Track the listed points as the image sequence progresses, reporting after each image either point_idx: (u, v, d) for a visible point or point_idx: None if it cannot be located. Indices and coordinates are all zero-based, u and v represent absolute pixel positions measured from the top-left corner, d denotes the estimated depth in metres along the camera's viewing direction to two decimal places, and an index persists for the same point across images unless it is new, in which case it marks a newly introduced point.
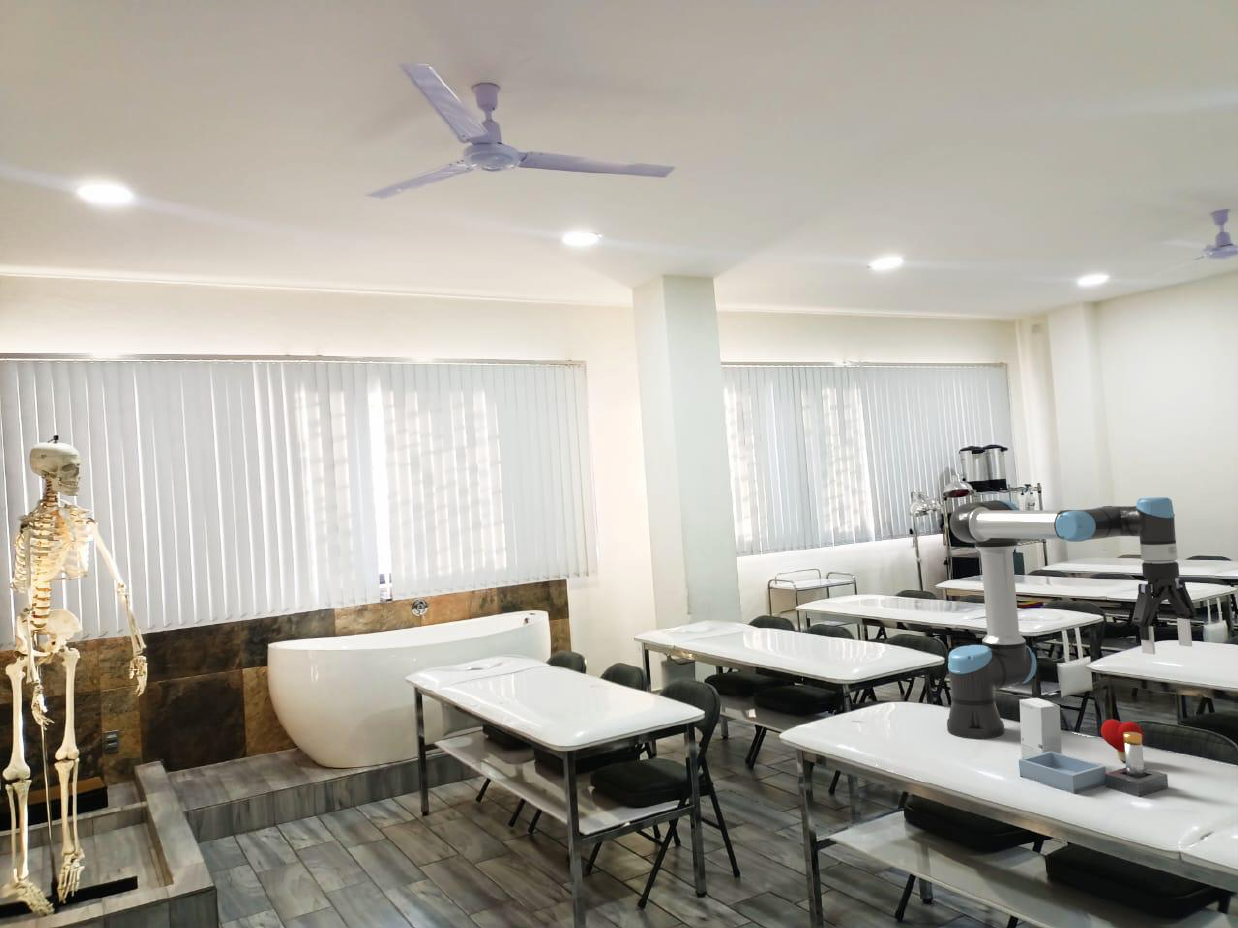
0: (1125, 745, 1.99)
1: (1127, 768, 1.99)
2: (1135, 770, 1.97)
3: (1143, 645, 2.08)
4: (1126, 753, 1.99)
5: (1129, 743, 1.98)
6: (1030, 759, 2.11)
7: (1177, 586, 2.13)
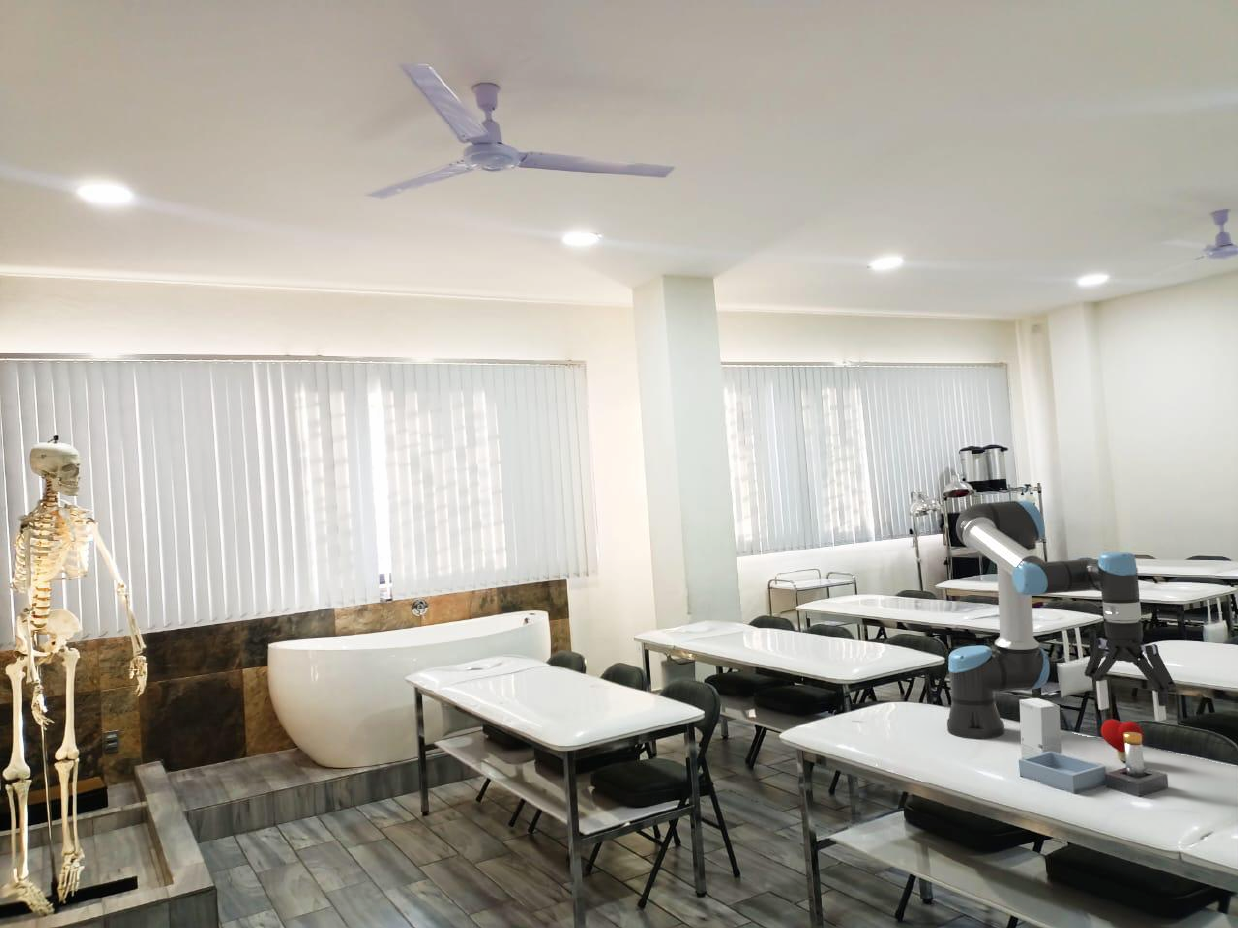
0: (1125, 745, 1.99)
1: (1127, 768, 1.99)
2: (1135, 770, 1.97)
3: None
4: (1126, 753, 1.99)
5: (1129, 743, 1.98)
6: (1030, 759, 2.11)
7: None
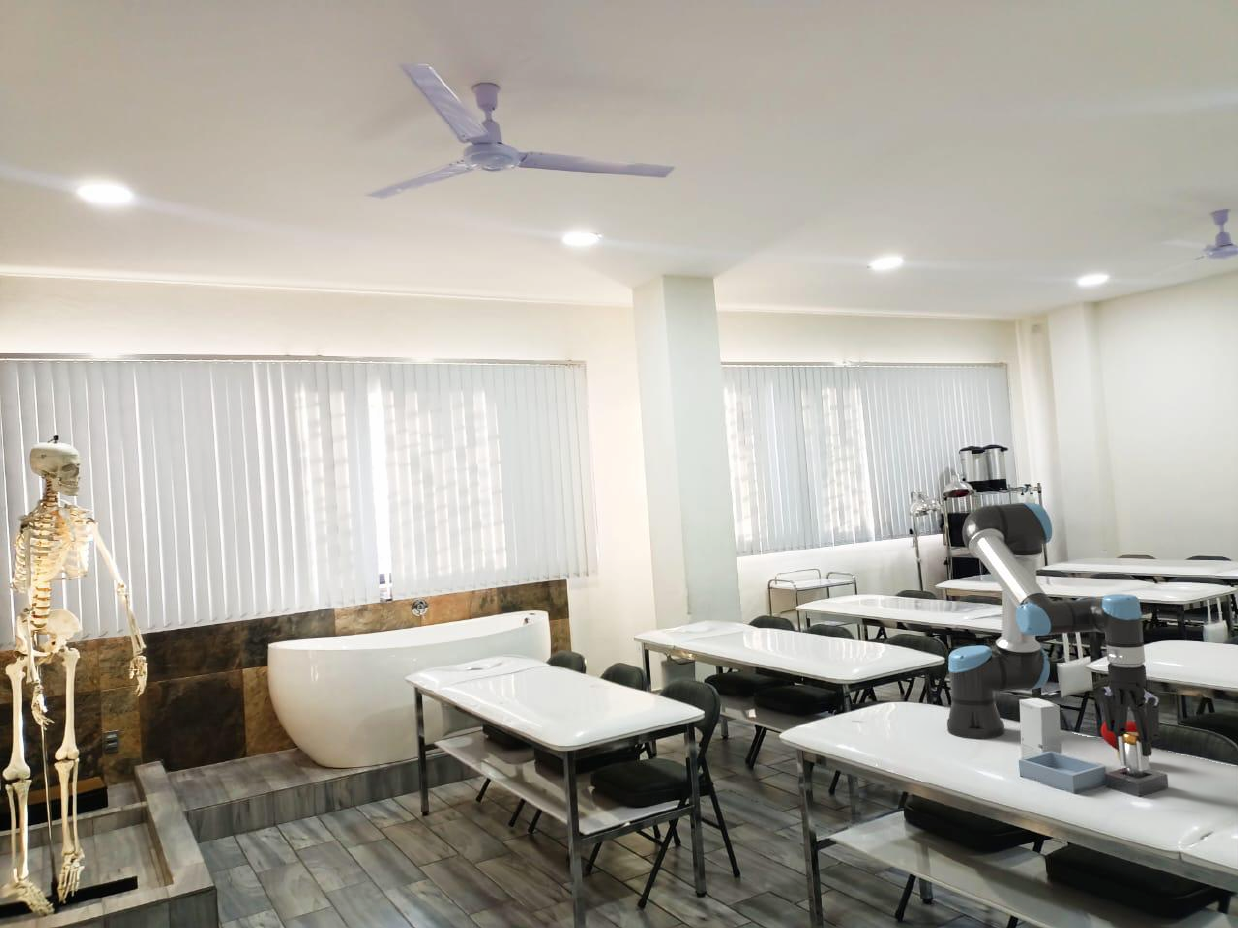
0: (1125, 745, 1.99)
1: (1127, 768, 1.99)
2: (1135, 770, 1.97)
3: None
4: (1126, 753, 1.99)
5: (1129, 743, 1.98)
6: (1030, 759, 2.11)
7: (1146, 700, 1.95)
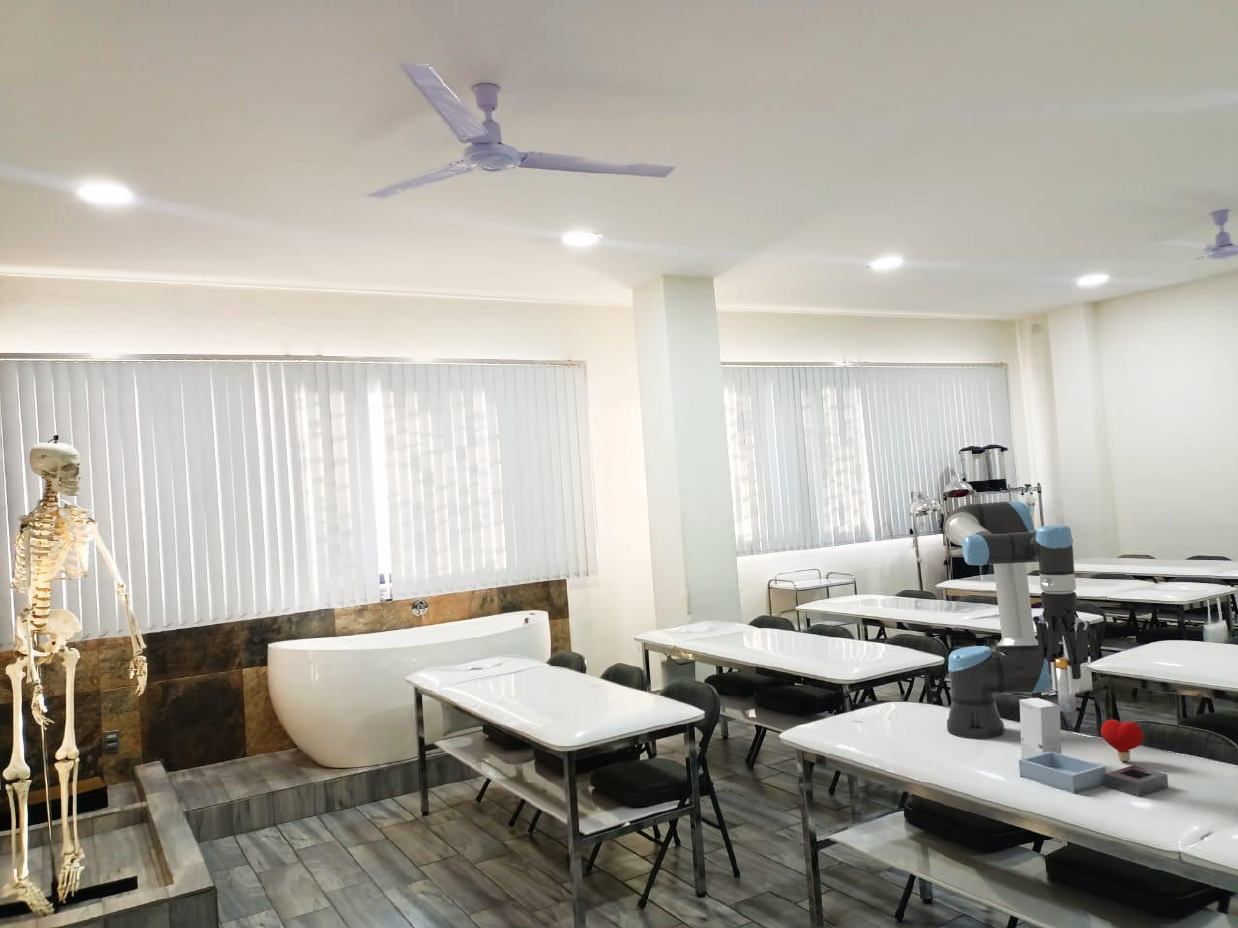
0: (1057, 670, 2.06)
1: (1058, 692, 2.06)
2: (1066, 693, 2.04)
3: None
4: (1057, 677, 2.06)
5: (1060, 667, 2.05)
6: (1030, 759, 2.11)
7: None
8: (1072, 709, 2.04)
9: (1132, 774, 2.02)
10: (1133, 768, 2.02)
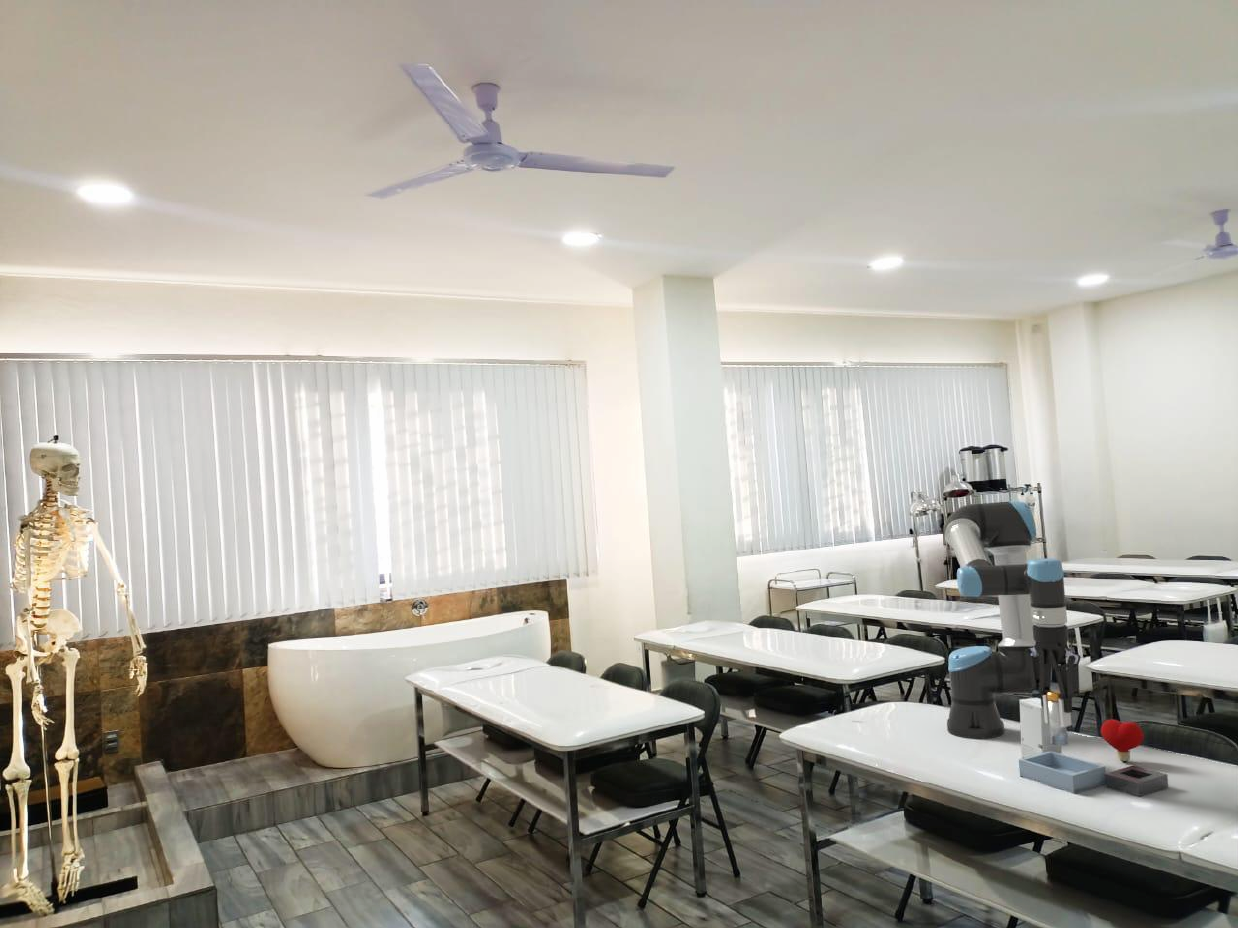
0: (1048, 703, 2.07)
1: (1050, 725, 2.07)
2: (1058, 726, 2.05)
3: None
4: (1049, 710, 2.06)
5: (1051, 700, 2.06)
6: (1030, 759, 2.11)
7: (1067, 658, 2.03)
8: (1064, 742, 2.05)
9: (1132, 774, 2.02)
10: (1133, 768, 2.02)
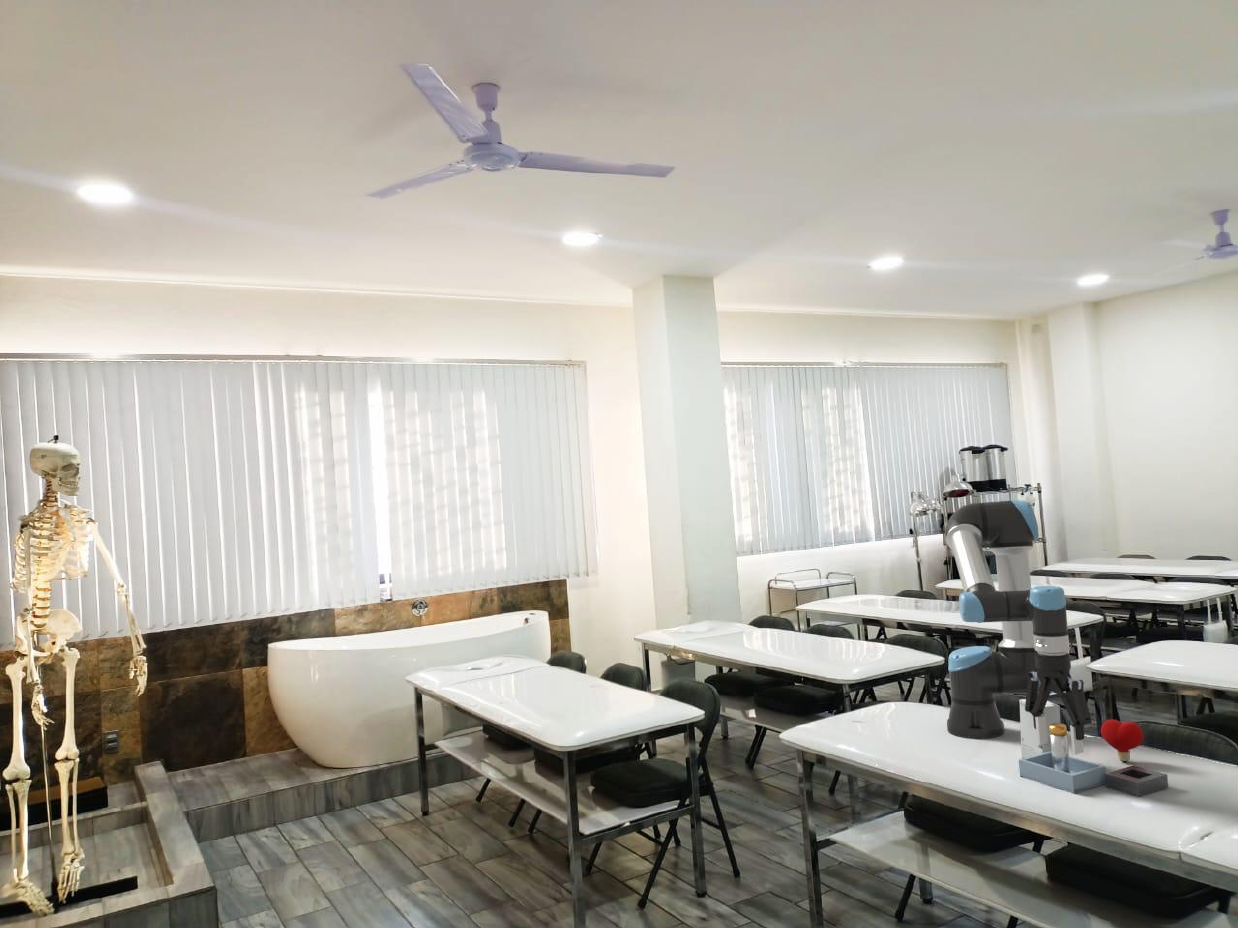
0: (1051, 736, 2.06)
1: (1053, 758, 2.06)
2: (1060, 760, 2.05)
3: None
4: (1052, 744, 2.06)
5: (1054, 734, 2.05)
6: (1030, 759, 2.11)
7: (1071, 686, 2.02)
8: None
9: (1132, 774, 2.02)
10: (1133, 768, 2.02)
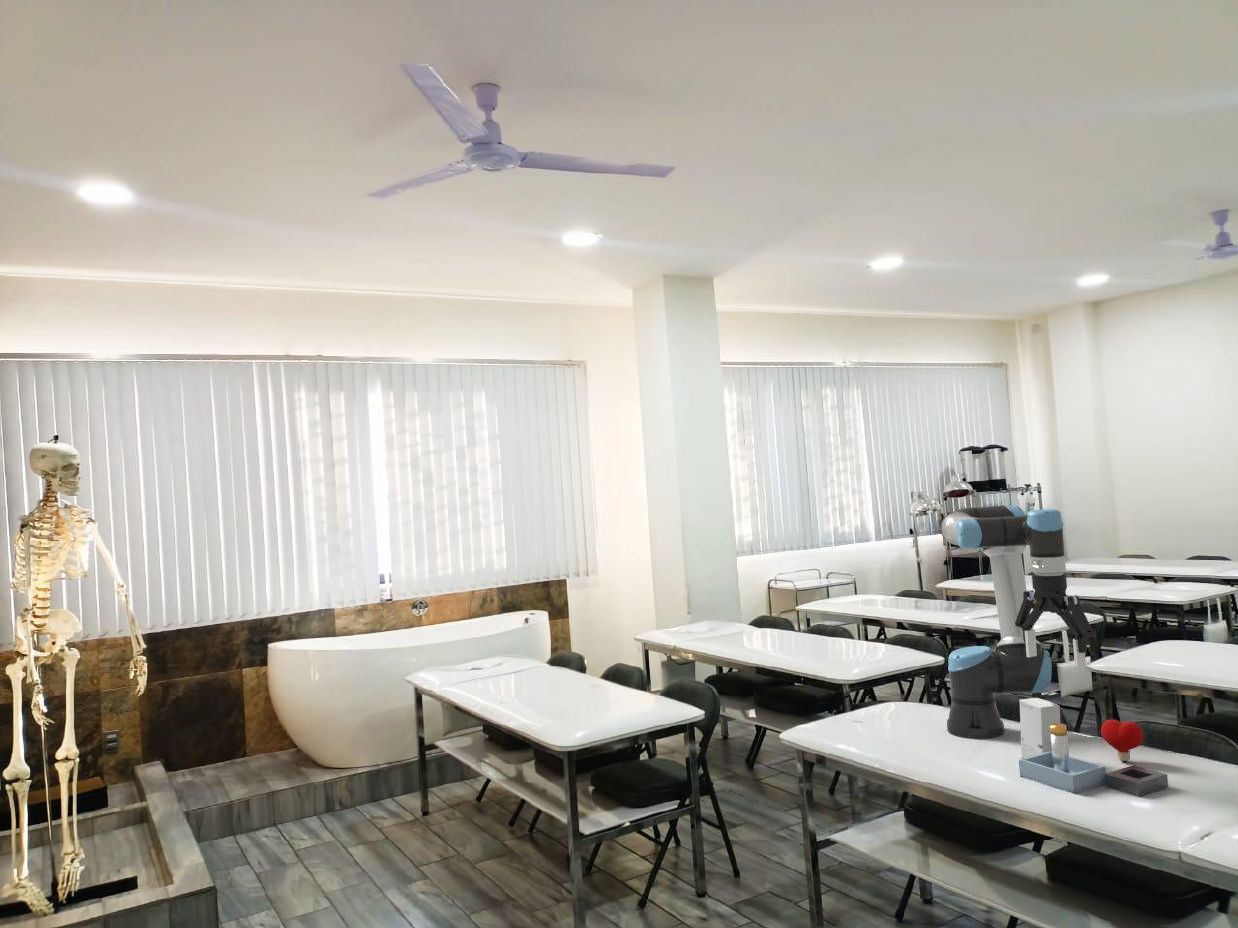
0: (1051, 736, 2.07)
1: (1053, 758, 2.06)
2: (1060, 760, 2.05)
3: None
4: (1052, 743, 2.06)
5: (1054, 734, 2.06)
6: (1030, 759, 2.11)
7: None
8: None
9: (1132, 774, 2.02)
10: (1133, 768, 2.02)
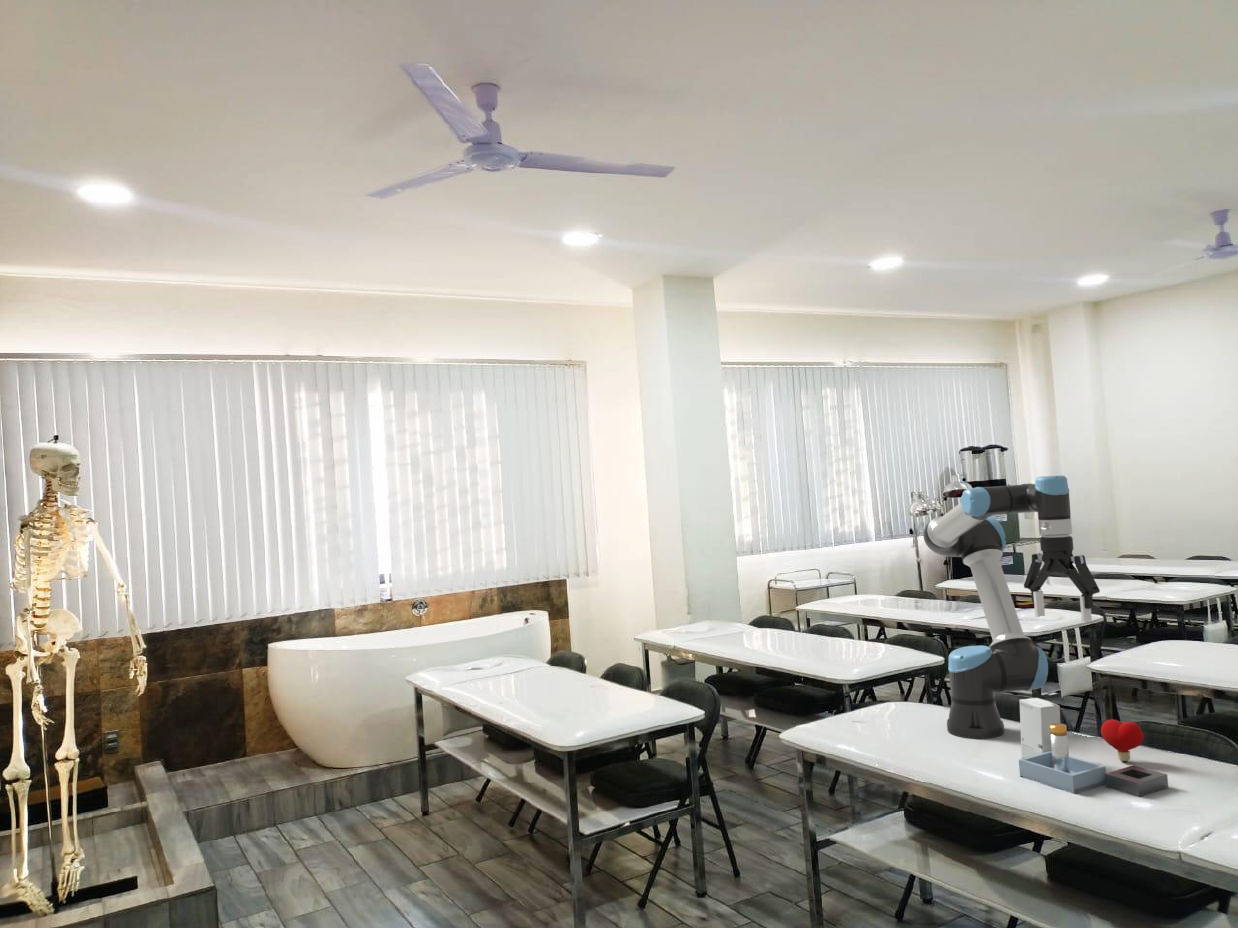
0: (1051, 736, 2.07)
1: (1053, 758, 2.06)
2: (1060, 760, 2.05)
3: None
4: (1052, 743, 2.06)
5: (1054, 734, 2.06)
6: (1030, 759, 2.11)
7: None
8: None
9: (1132, 774, 2.02)
10: (1133, 768, 2.02)
